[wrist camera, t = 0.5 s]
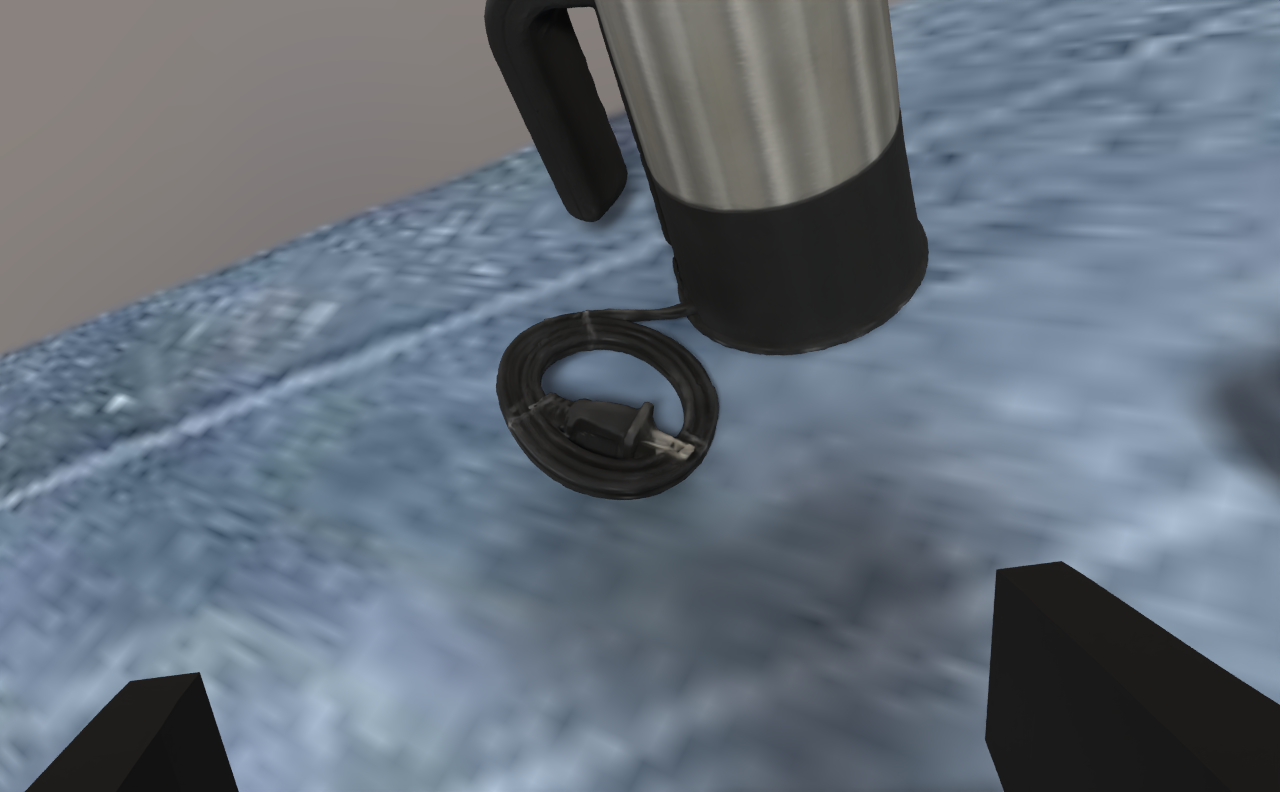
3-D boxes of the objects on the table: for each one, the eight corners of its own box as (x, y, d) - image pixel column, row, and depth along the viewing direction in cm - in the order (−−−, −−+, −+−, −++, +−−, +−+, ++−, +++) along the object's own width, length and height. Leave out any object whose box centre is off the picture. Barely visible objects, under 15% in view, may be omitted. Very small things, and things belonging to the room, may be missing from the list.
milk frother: (930, 178, 45) (879, -226, 34) (950, 503, 34) (886, 58, 24) (581, 228, 49) (445, -119, 39) (503, 532, 38) (285, 163, 28)
